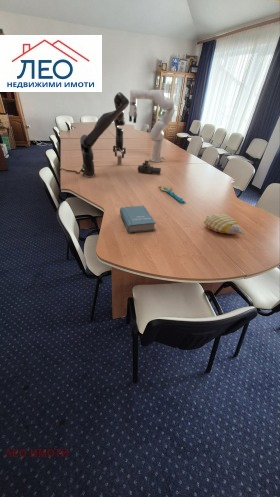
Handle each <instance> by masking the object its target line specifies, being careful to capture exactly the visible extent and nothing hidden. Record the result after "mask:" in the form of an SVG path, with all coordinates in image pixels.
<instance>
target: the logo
mask: <svg viewBox="0 0 280 497" xmlns="http://www.w3.org/2000/svg"><path fill="white" fill-rule="evenodd" d="M158 187H159V188H160V190H161V191H162V192H166V193H167V194H168V195H170V196H171V197H172V198H173V199H175V200H176V201H178V202H179V203H180V204H186V201H185V200H184V199H183V198H182V197H179V196H178V195H177V194H175V192H173V191H172V190H171V189H172V187H168V186H167V185H165V186H163V185H159V186H158Z"/></svg>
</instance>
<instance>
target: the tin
mask: <svg viewBox="0 0 280 497" xmlns="http://www.w3.org/2000/svg"><path fill="white" fill-rule="evenodd" d="M116 158H117V159H116V160H117V165H118V166H122V164H123V163H122V159H123V158H122V154H117V157H116Z"/></svg>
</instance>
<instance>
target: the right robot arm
mask: <svg viewBox="0 0 280 497" xmlns="http://www.w3.org/2000/svg"><path fill="white" fill-rule="evenodd" d="M166 95H167V93H166V91H165V90H164V89H149V90H143V89H137V90H136V89H130V90H129V109H128V110H129V111H128V122H129V123H130V122H132V123H133V124H137V118H138V100H150V101H155V102H156V104H157V105H158V107H159V109H160V110H163V111H165V112H164V113H163V116H162V118H161V119H160V120H156V121H155V123H154V124H153V126H152V129H151V131H150V133H149V134H150V135H149V137H150V140H151V141H153V143H152V153H151V154H152V155H151V158H150V162H153V163H161V162H162V160H163V159H165V158H164V156H162V146H163V141H164V137H165V136H164V135H165V134H164V131H166V130H167V128H168V127H169V125H170V122H171V120H172V118H173V116H174V115H175V112H176V103H175V102H174V101H173V100H172V99H166Z"/></svg>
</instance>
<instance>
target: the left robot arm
mask: <svg viewBox="0 0 280 497" xmlns="http://www.w3.org/2000/svg"><path fill="white" fill-rule="evenodd" d="M113 104H114V107H115V109H114V110H112V111H108V112H104V113H102V114H101V116H100V117H99V118H98V119H97V121H96V123H95V124H94V127H93V129H92V130H91V131H90V132H89V134H87V133H86V134H81V136H80V141H79V143H80V151H81V155H82V168H80V170H79V171H77V170H72V169H71V170H70V169H66V168H62V167H61V168H59V171H62V170H63V171H65V172H72V173H73V172H74V173H76V174H81V173H82V174H83V176H84V177H85V178H94V177H95V175H96V174H95V159H94V151H93V148H92V147H93V146H94V145H95V144H96V142H97V141H98V140H99V138H100V137H101V136H102V135H103V133H105V131H106V130H107V129H108V128H109V127H110V126H111V125H112V124H113V123H114V127H115V145H113V146H112V152H113V153H114V158H115V157H116V158H117V155H118V152H120V154H121V156H122V159H124V157H125V155H126V154H127V152H126V151H127V150H126V147H124V129H123V128H121V127H123V126H125V125H126V119H125V110H126V109H127V107H128V106H130V99H128V98H127V97H126V95H125V94H123V92H117V93H116V94H115V96H114V98H113ZM119 126H121V127H119Z"/></svg>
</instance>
